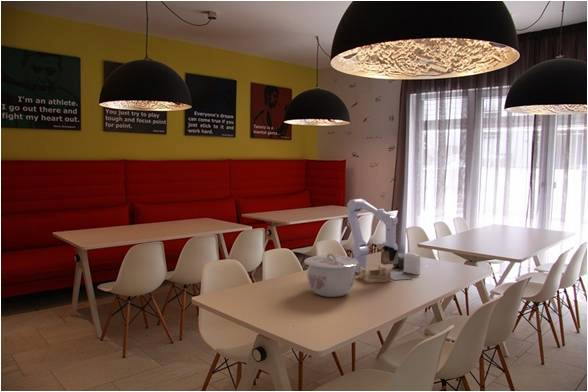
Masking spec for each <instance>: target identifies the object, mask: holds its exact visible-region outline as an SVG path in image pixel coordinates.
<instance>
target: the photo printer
mask: <svg viewBox="0 0 588 392" xmlns="http://www.w3.org/2000/svg"><path fill="white" fill-rule="evenodd" d="M404 253H405V255H404V269H403V272H404V273H408V274H411V275H416V276H419V275H420V274H421V255H419V254H417V253H415V252H404Z"/></svg>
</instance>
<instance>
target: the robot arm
mask: <svg viewBox="0 0 588 392" xmlns="http://www.w3.org/2000/svg"><path fill="white" fill-rule="evenodd" d="M346 206H347V219H348V222H349V226H350V231H351V235H352V238H353V243H352V255H353V257H352V259H355V260H357V261H358V264H357V265H356V266H354V267H353V268H354V270H355V274H356V273H357V274H359V267H361V268H363V269H365V270H367V269H368V268H367V265H368V264H367V262H368V255H369V254H370V248H369V246H368V244H367V242H366V241H365V240H364V237H363V235H362V231H361V226H360V223H359V219H358V218H359V217H358V214H359V212H361V211H362V210H366V211H367V212H370V213H371V214H373V215H374V217H375V219H378V220H379V221H381V222H383V224H384V225H385V241H383V242H382V249H383V251H389V256H390V261H394V258H395V255H396V253H397V251H398V252H399V246H398V243H396V242H397V240H396V239H397V238H396V237H397V224H398V222H399V219H398V217H397V216H396V215H395V214H391V213H388V212H386V211H385V209H384V208H376V207H375V206H373V205H372V204H370V203H369V202H367V201H366V200H365V199H363V198H355V199H354V198H353V199H350V200H348V203H347V204H346Z"/></svg>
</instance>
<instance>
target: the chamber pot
mask: <svg viewBox="0 0 588 392" xmlns="http://www.w3.org/2000/svg"><path fill="white" fill-rule="evenodd" d="M303 263H304V264H305V265H307V266H308V268H307V269H306V277H307V283H308V285H309V286H310V289H311V290H312V292H313V293H314V294H316V295H318V296H320V297H325V298H339V297H342V296H346V295H347V294H348V293H349V292H350V290H351V289H352V288H353V286H354V283H355V279H356V272H355V270H354V268H353V267H354V266H356V265H357V264H358V261H357V260H355V259H353V257H348V256H344V255H337V254H333V253H332V252H331V253H328V254H320V255H314V256H310V257H306V258H305V259H304V261H303Z"/></svg>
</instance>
